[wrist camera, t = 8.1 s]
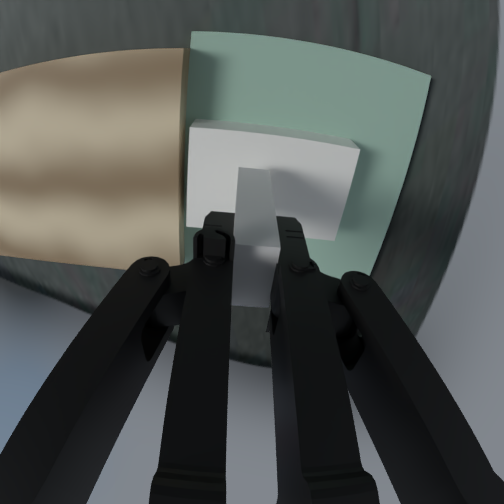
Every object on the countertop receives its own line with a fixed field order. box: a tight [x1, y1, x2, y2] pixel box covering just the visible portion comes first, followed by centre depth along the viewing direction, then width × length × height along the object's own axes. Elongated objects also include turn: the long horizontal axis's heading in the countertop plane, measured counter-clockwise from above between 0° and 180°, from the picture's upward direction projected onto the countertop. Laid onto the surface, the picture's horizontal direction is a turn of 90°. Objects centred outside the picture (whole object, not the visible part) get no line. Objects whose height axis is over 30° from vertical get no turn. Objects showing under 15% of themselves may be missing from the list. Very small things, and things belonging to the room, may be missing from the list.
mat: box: [184, 31, 431, 279], centre depth 19 cm, size 16×14×1 cm
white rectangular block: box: [186, 119, 360, 241], centre depth 18 cm, size 9×6×2 cm, turn 83°
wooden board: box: [0, 48, 190, 270], centre depth 17 cm, size 14×16×2 cm
